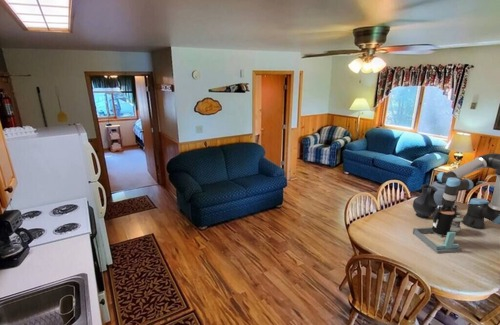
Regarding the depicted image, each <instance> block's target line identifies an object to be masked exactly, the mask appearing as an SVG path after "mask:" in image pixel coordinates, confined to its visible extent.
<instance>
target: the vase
mask: <svg viewBox="0 0 500 325" xmlns="http://www.w3.org/2000/svg"><path fill="white" fill-rule="evenodd" d="M430 185H431V186H435V187H436V188H437V189H438V190H437V191H436V192H435V193H434V201H435V203H436V204H437V205H439V206H441V205H442V202H441V201H442V198H443V194H444V190H445V186H446V184H445V183H443V182H441V181H439V180H436V181H435V180H434V181H433V182H432V184H430ZM436 208H437V207H436Z"/></svg>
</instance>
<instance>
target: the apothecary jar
mask: <svg viewBox="0 0 500 325" xmlns="http://www.w3.org/2000/svg"><path fill="white" fill-rule="evenodd" d="M456 211H457V217H455V219H453V222H452V225H451V228H450V232H455V233H456V235H455V237H457V236H458V232H460V231H461V230H462V227H461V223H462V221H463V217H464V216H462V215H463V214H462V213H461V212H460V211H458V210H456Z"/></svg>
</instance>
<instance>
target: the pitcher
mask: <svg viewBox="0 0 500 325" xmlns="http://www.w3.org/2000/svg"><path fill="white" fill-rule="evenodd" d="M431 185H432V184H422V185H421V186H420V187H421V189H422V190H421V193H420V194H419V195H418V196H417V197H416V198H414V200H413V201H412V202H413V203H412V208H413V210H414V212H415V216H416V217H417V218H419V219H425V220H426V219H429V216H432V215H433V213H434V211H435V210H436V207H437V204H436V203H435V201H434V193H435V192H436V191H437V190H438V189H437V188H436V187H435V186H431Z"/></svg>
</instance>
